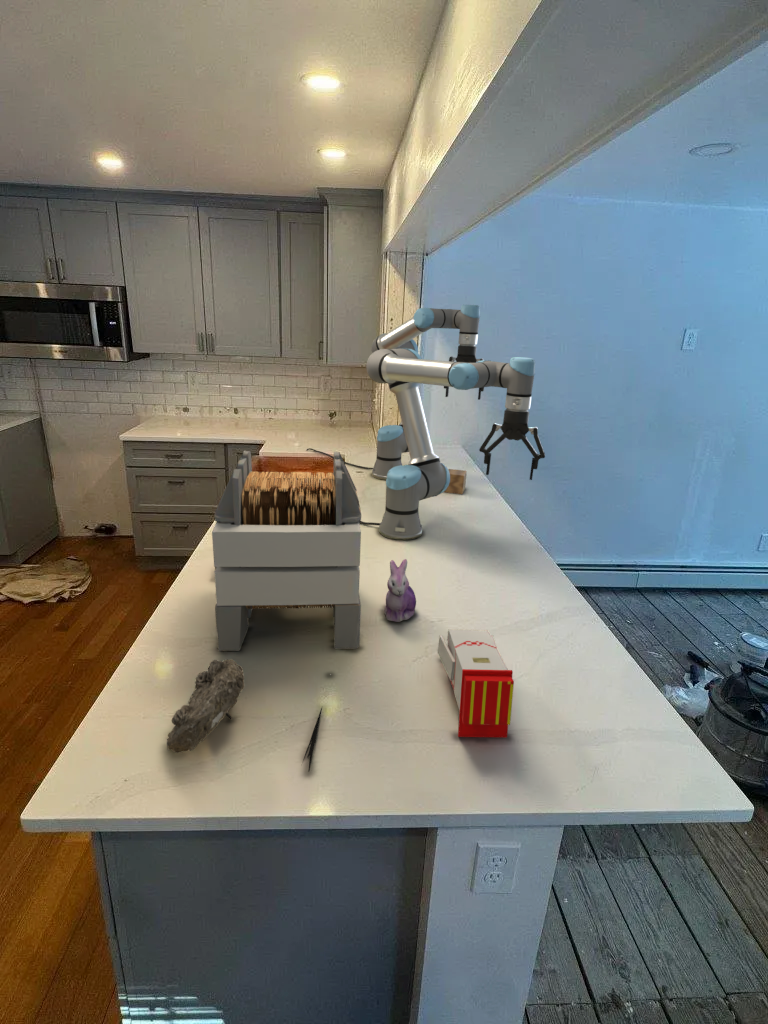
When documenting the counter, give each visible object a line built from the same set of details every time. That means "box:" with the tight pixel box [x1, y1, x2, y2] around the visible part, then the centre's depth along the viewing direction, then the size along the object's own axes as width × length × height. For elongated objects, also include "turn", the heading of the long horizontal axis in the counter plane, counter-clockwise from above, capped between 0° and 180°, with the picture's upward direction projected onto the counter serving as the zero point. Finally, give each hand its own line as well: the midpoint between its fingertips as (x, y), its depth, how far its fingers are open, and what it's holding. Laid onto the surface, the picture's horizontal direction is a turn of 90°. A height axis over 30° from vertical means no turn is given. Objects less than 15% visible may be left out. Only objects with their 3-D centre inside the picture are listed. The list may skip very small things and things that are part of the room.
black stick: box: [301, 673, 332, 771], centre depth 108 cm, size 2×28×2 cm
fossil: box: [166, 658, 245, 754], centre depth 106 cm, size 22×10×15 cm
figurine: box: [384, 558, 417, 623], centre depth 145 cm, size 9×10×15 cm
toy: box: [437, 628, 515, 738], centre depth 117 cm, size 12×13×30 cm
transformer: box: [211, 450, 362, 653], centre depth 138 cm, size 34×33×41 cm
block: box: [443, 468, 468, 495], centre depth 250 cm, size 8×8×8 cm
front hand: (509, 476), depth 181 cm, fingers open, 13 cm apart
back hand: (462, 398), depth 237 cm, fingers open, 13 cm apart
